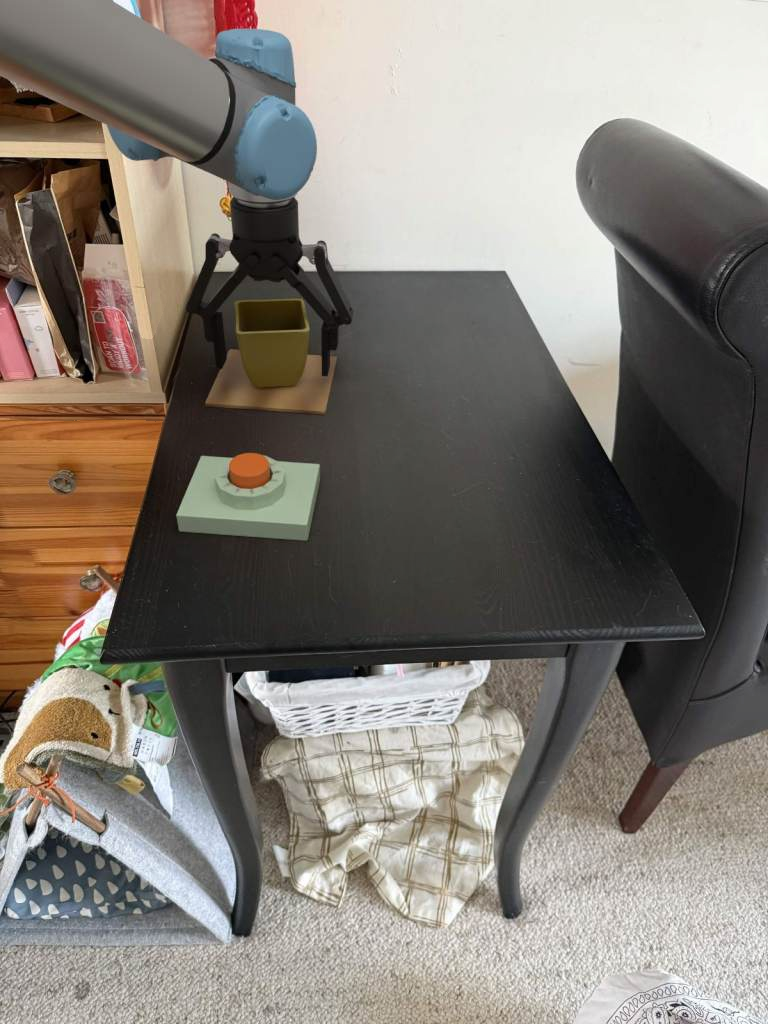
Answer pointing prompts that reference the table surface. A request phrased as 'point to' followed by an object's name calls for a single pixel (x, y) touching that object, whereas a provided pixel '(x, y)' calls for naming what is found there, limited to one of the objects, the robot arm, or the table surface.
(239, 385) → the brown wooden board
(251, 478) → the round orange button
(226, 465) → the green button base
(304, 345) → the flower pot
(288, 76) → the robot arm
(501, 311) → the table surface
